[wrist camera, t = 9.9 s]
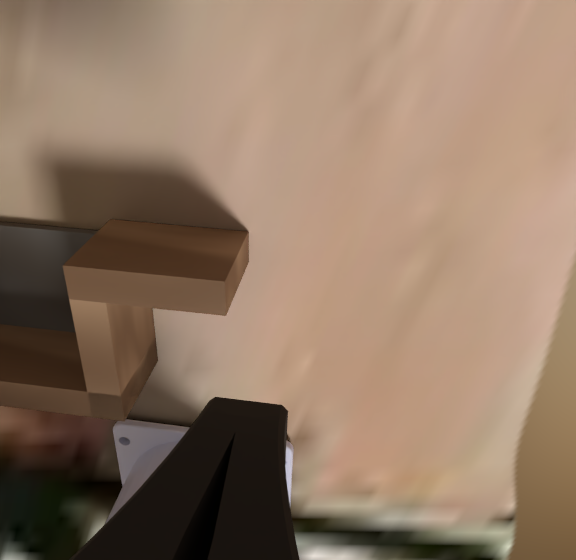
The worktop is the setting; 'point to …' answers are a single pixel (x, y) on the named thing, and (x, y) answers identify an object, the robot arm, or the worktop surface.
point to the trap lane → (101, 307)
